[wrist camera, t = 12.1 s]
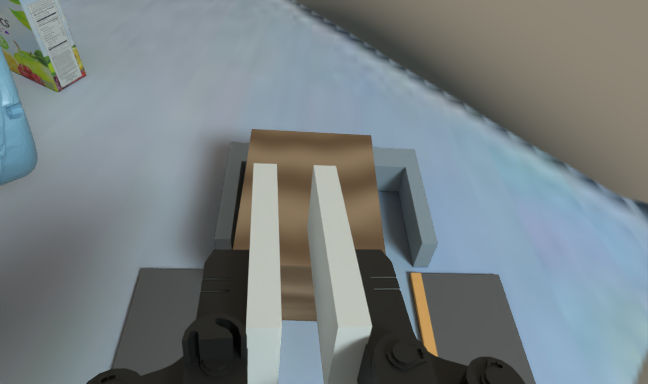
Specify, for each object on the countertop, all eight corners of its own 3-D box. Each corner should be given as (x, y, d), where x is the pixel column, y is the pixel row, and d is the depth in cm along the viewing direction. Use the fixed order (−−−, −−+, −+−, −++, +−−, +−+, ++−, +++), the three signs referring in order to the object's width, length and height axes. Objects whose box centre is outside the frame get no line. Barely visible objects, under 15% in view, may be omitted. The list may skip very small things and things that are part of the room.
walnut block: (370, 323, 42) (387, 268, 35) (238, 319, 41) (230, 263, 34) (359, 195, 53) (370, 135, 46) (255, 190, 52) (252, 129, 45)
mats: (538, 400, 38) (541, 398, 37) (104, 402, 35) (102, 400, 35) (497, 276, 46) (498, 274, 46) (142, 270, 43) (141, 268, 43)
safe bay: (427, 267, 46) (437, 243, 43) (218, 263, 45) (214, 238, 42) (407, 173, 55) (414, 149, 52) (233, 168, 54) (230, 142, 51)
